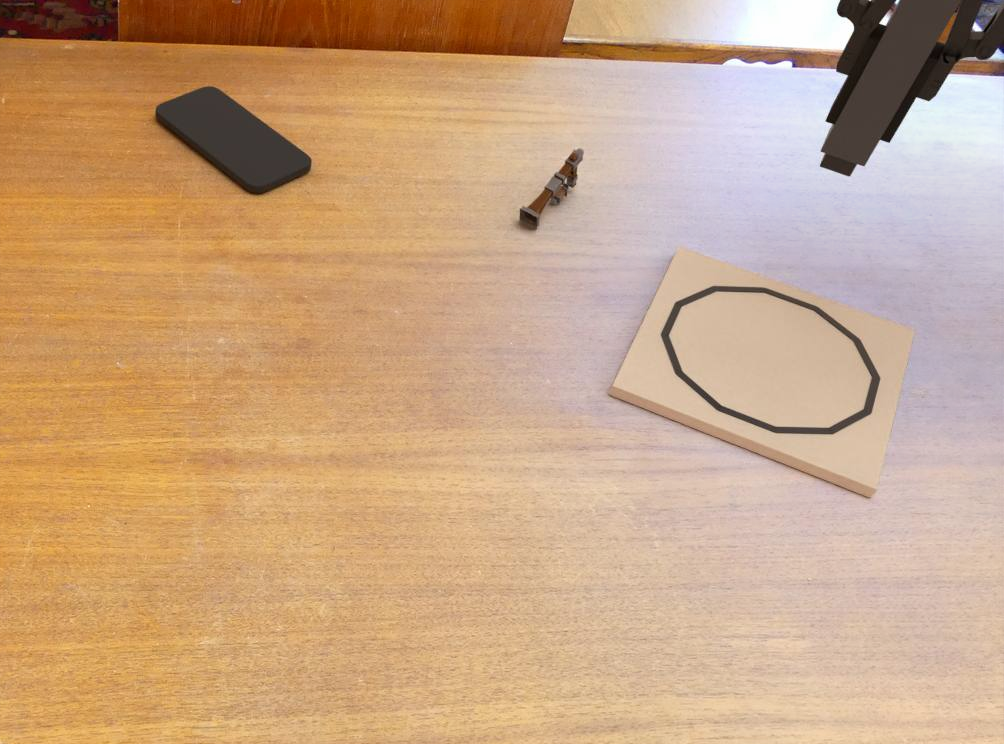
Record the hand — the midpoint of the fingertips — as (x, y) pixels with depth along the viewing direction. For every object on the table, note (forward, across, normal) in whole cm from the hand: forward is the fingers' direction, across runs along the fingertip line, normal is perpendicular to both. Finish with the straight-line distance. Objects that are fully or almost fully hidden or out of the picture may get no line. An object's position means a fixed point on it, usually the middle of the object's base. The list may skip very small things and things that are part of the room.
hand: (860, 123), depth 84 cm
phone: (+14, -48, -10) cm, 51 cm away
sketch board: (+14, +2, -12) cm, 19 cm away
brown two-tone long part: (+14, -20, -3) cm, 25 cm away
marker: (+4, 0, 0) cm, 4 cm away
